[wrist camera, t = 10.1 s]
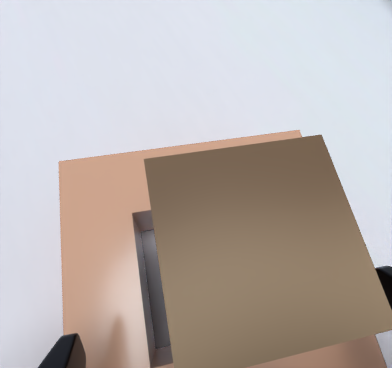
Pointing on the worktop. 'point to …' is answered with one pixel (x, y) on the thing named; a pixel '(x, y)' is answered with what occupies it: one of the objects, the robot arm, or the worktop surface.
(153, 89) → the worktop surface
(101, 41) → the worktop surface
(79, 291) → the socket
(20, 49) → the worktop surface
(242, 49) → the worktop surface
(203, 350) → the peg
